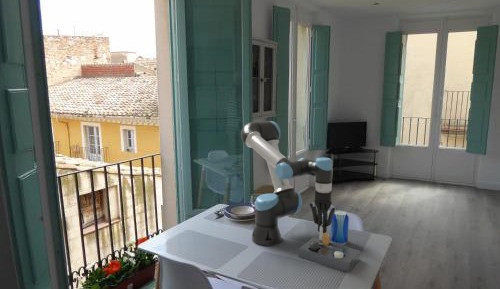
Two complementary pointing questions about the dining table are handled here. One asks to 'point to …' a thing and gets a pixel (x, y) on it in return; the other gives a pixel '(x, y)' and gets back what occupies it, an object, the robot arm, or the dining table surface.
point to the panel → (330, 255)
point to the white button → (338, 254)
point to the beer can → (339, 227)
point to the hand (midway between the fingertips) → (322, 238)
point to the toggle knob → (325, 239)
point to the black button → (314, 246)
